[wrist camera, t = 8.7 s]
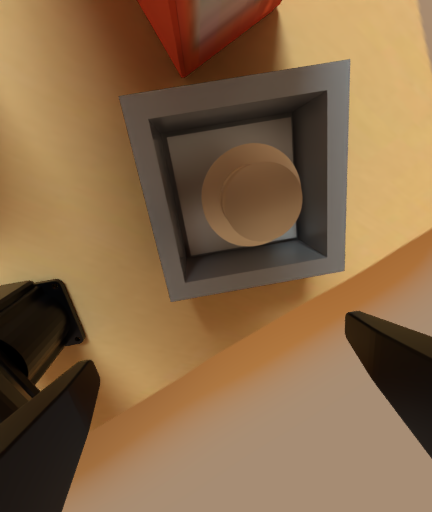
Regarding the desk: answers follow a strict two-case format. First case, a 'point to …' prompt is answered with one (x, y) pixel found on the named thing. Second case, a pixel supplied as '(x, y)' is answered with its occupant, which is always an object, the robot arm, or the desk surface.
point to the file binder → (201, 26)
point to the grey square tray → (304, 159)
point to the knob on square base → (237, 185)
